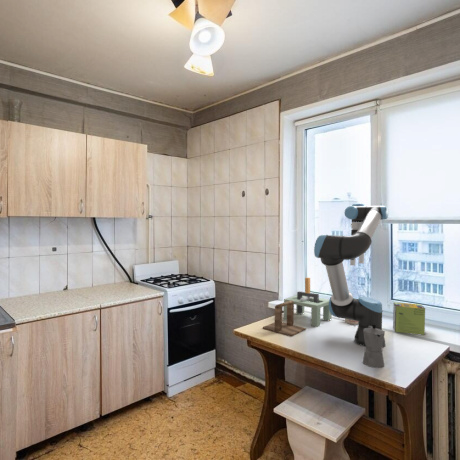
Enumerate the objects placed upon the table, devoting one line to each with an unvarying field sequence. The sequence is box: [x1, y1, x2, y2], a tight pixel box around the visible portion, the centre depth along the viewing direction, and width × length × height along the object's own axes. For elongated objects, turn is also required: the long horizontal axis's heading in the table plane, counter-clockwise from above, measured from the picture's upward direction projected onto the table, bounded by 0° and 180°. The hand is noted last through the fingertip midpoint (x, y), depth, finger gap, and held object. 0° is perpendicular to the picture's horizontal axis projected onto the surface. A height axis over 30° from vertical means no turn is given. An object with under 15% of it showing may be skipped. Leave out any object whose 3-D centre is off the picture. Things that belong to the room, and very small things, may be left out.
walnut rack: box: [262, 300, 307, 338], centre depth 196 cm, size 16×20×16 cm
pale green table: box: [283, 294, 333, 328], centre depth 217 cm, size 20×24×15 cm
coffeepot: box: [362, 324, 386, 369], centre depth 151 cm, size 15×9×18 cm, turn 175°
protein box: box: [392, 302, 426, 336], centre depth 196 cm, size 10×15×16 cm
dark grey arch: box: [296, 277, 320, 313], centre depth 217 cm, size 2×14×24 cm, turn 48°
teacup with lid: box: [344, 319, 358, 325], centre depth 212 cm, size 12×9×12 cm
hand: (357, 264), depth 200 cm, fingers open, 13 cm apart
